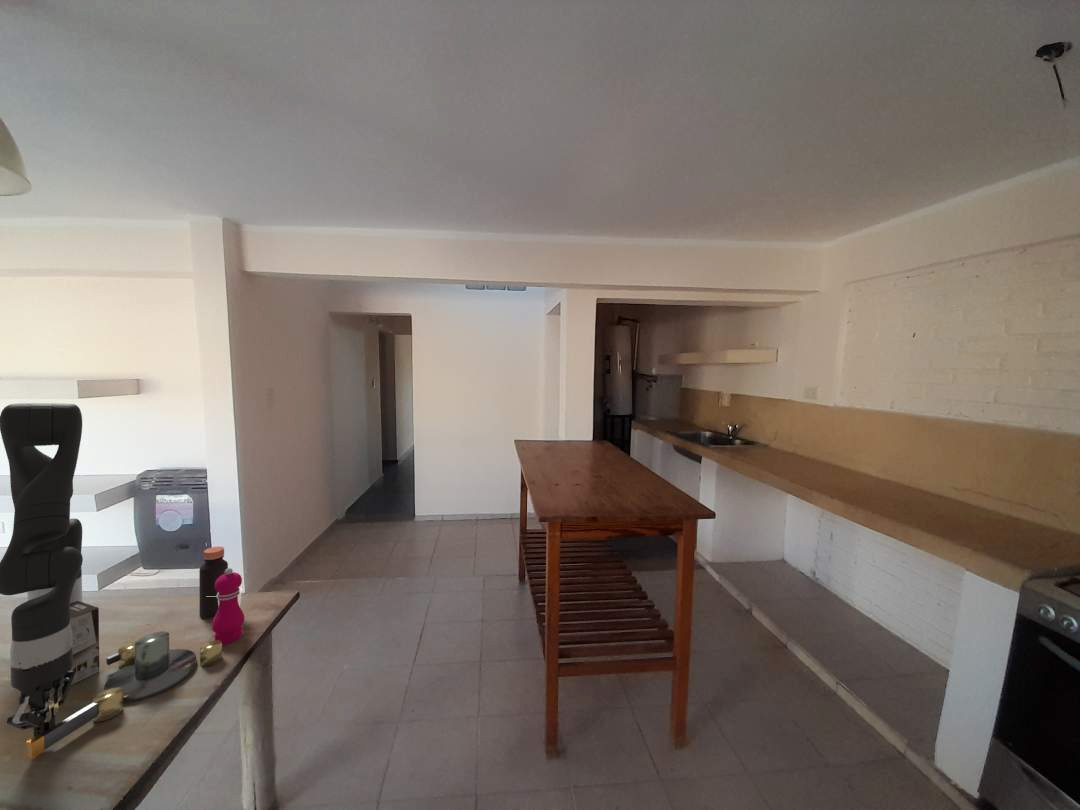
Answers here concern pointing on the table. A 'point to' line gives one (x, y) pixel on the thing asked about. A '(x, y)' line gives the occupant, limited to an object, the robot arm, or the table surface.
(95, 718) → the brass head mallet
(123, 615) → the table surface
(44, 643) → the robot arm
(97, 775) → the table surface
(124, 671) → the base
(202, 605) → the bottle
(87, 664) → the coffee box
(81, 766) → the table surface
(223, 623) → the pepper mill
